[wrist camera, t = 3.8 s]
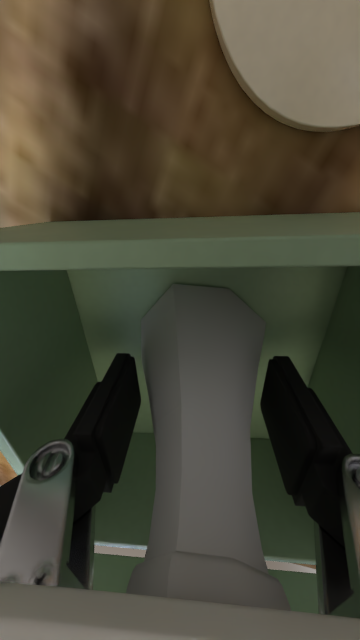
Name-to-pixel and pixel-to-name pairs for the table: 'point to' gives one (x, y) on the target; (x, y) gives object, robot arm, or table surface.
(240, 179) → the table surface
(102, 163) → the table surface
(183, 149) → the table surface
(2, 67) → the table surface
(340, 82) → the coaster
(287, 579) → the box lid
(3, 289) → the box
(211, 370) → the flask
